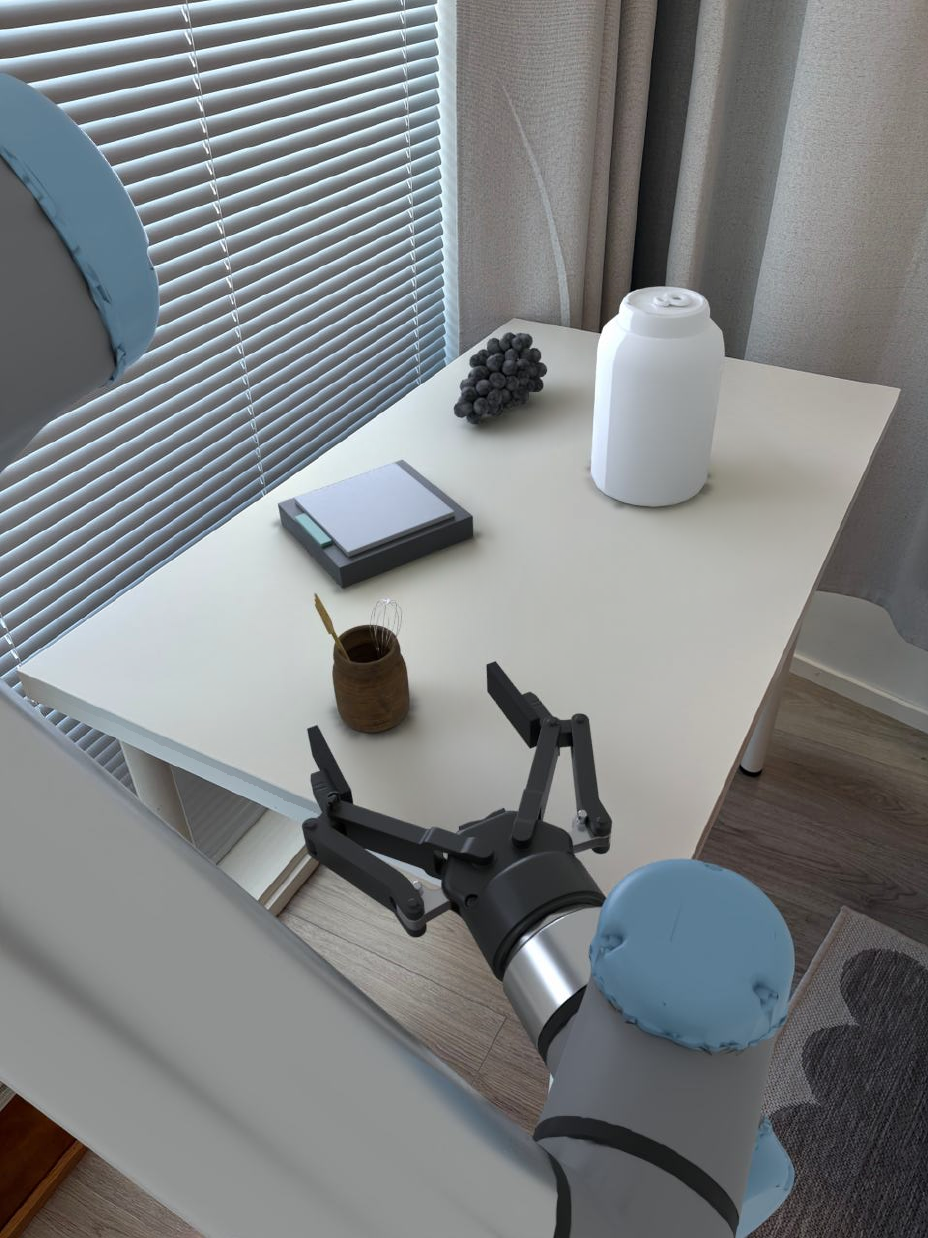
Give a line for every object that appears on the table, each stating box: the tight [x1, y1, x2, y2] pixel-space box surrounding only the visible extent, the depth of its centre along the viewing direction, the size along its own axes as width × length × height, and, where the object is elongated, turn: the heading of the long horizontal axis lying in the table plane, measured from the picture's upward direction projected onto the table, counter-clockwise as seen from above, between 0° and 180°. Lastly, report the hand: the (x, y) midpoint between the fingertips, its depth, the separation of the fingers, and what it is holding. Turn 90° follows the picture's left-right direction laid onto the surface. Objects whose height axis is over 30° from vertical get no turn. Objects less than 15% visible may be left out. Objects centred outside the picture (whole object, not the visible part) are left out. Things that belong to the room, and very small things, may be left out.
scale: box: [277, 459, 475, 590], centre depth 97 cm, size 15×14×3 cm
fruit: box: [453, 331, 548, 425], centre depth 116 cm, size 9×8×15 cm
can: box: [590, 285, 726, 508], centre depth 97 cm, size 12×12×20 cm
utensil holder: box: [313, 592, 410, 733], centre depth 74 cm, size 6×6×12 cm
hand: (405, 707), depth 67 cm, fingers open, 13 cm apart
